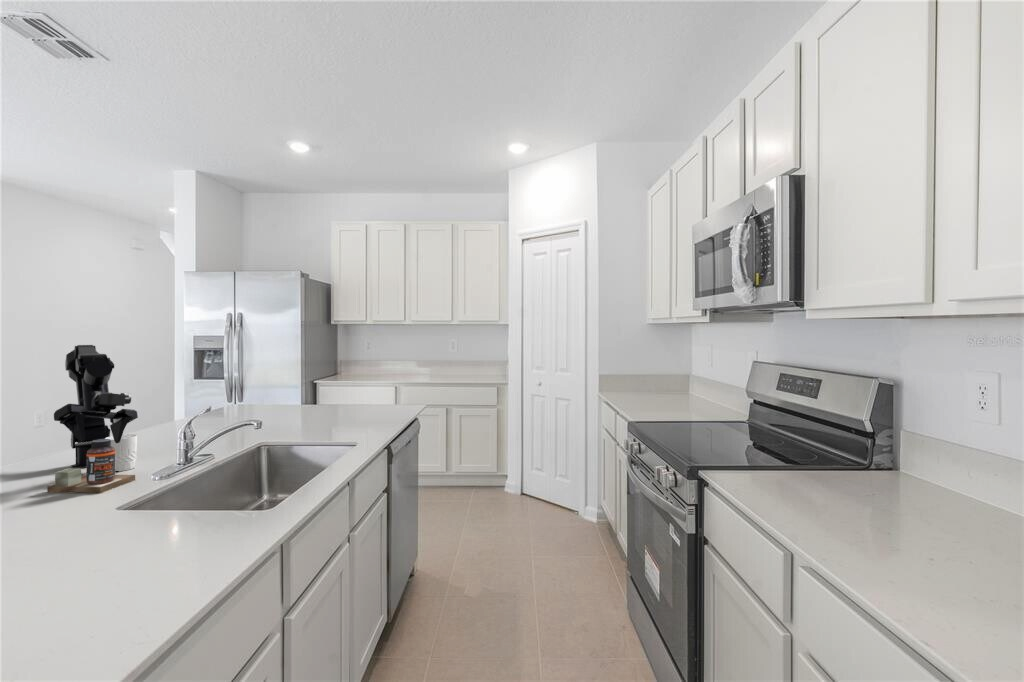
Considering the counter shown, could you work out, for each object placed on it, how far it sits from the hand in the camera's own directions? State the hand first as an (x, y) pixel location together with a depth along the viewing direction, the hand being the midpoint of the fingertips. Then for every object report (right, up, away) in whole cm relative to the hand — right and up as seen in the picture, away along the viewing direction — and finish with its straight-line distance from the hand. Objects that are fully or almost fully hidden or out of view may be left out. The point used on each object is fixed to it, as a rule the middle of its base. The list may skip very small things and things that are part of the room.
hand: (100, 442), depth 135 cm
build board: (+2, -11, -5) cm, 12 cm away
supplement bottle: (+6, -10, -6) cm, 13 cm away
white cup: (-4, -11, +12) cm, 16 cm away
